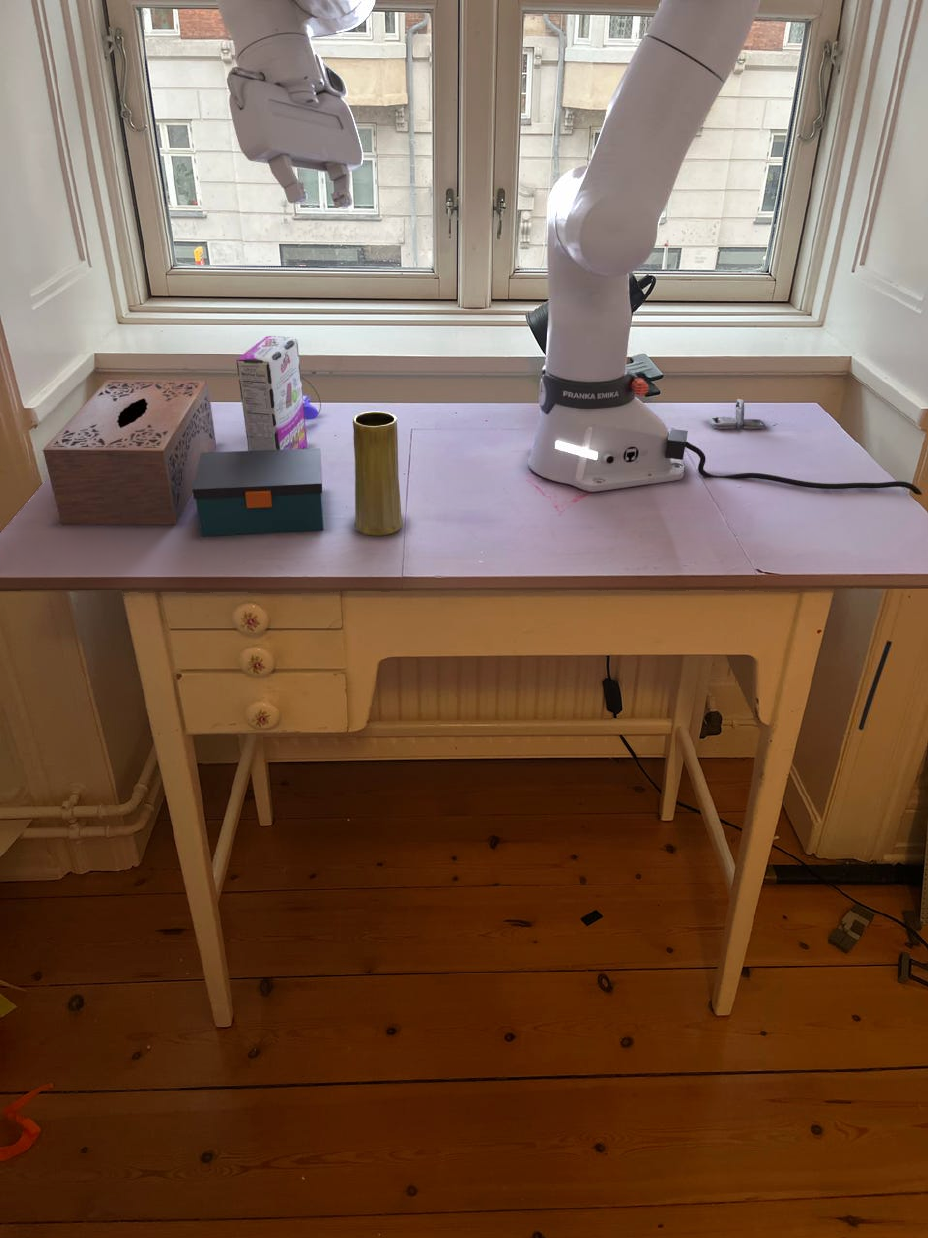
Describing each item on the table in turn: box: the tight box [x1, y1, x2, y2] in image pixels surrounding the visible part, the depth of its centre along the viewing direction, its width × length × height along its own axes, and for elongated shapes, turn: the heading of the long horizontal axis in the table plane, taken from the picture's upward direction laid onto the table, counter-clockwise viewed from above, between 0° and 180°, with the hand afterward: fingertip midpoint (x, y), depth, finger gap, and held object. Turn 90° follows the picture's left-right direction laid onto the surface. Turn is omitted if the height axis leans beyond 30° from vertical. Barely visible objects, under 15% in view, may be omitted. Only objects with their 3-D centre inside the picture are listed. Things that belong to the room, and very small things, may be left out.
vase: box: [352, 410, 404, 537], centre depth 114 cm, size 6×6×14 cm
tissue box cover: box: [42, 379, 217, 525], centre depth 125 cm, size 26×14×10 cm, turn 2°
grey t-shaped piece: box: [709, 398, 766, 430], centre depth 149 cm, size 8×3×4 cm, turn 94°
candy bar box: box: [235, 335, 308, 451], centre depth 131 cm, size 11×5×16 cm, turn 168°
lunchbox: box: [192, 447, 324, 537], centre depth 119 cm, size 15×12×6 cm
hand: (322, 204), depth 108 cm, fingers open, 8 cm apart
